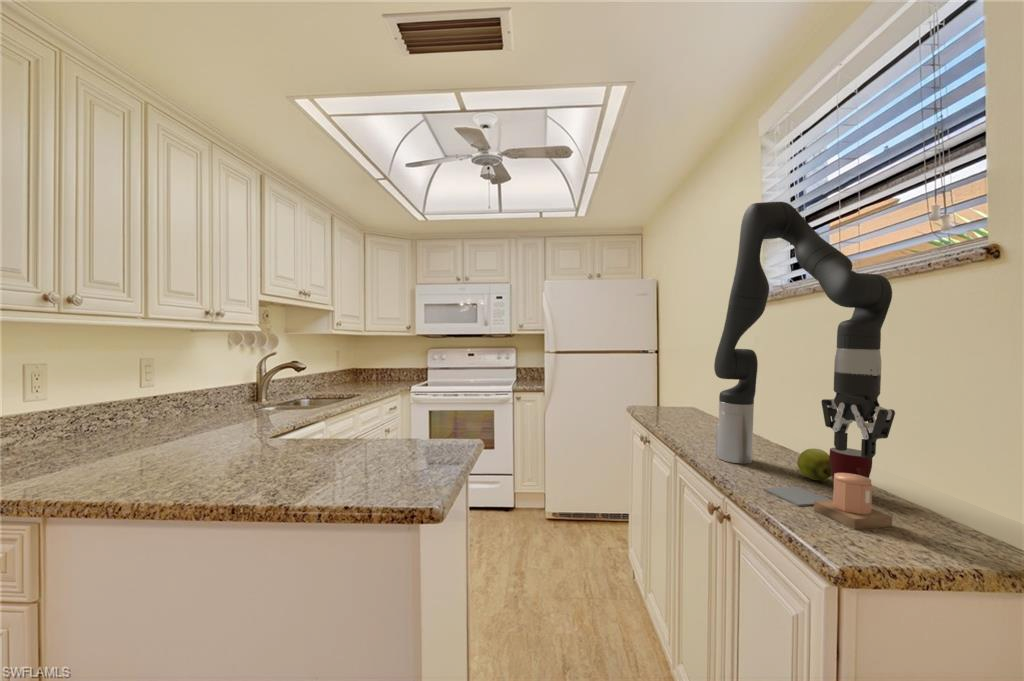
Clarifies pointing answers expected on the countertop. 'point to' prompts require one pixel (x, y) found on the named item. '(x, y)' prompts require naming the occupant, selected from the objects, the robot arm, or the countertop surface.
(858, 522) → the post block
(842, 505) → the cap
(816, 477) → the apple
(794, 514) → the countertop surface
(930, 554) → the countertop surface
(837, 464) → the mug
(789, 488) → the mat
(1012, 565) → the countertop surface
